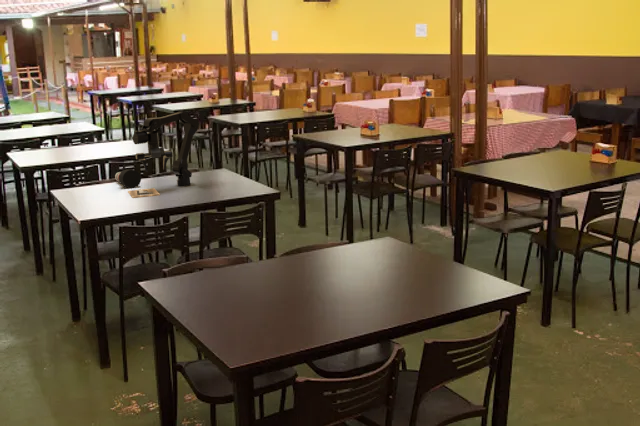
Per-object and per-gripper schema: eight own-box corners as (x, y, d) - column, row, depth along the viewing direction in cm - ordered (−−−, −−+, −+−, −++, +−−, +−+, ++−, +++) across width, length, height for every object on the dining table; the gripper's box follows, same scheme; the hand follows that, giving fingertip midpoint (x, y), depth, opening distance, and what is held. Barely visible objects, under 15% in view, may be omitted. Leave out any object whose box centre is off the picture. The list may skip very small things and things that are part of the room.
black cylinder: (123, 187, 417) (129, 171, 418) (137, 190, 387) (143, 173, 388) (107, 181, 412) (113, 165, 413) (120, 184, 382) (126, 167, 383)
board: (154, 191, 378) (153, 184, 377) (160, 197, 362) (159, 190, 361) (128, 194, 373) (127, 186, 372) (132, 200, 356) (132, 192, 356)
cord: (142, 188, 371) (136, 189, 370) (144, 190, 365) (138, 192, 364) (143, 194, 372) (138, 195, 371) (146, 196, 366) (140, 198, 365)
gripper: (137, 145, 357) (140, 175, 361) (173, 142, 364) (175, 171, 368) (134, 142, 367) (136, 171, 371) (169, 140, 374) (171, 168, 378)
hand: (155, 171), depth 372 cm, fingers open, 9 cm apart
